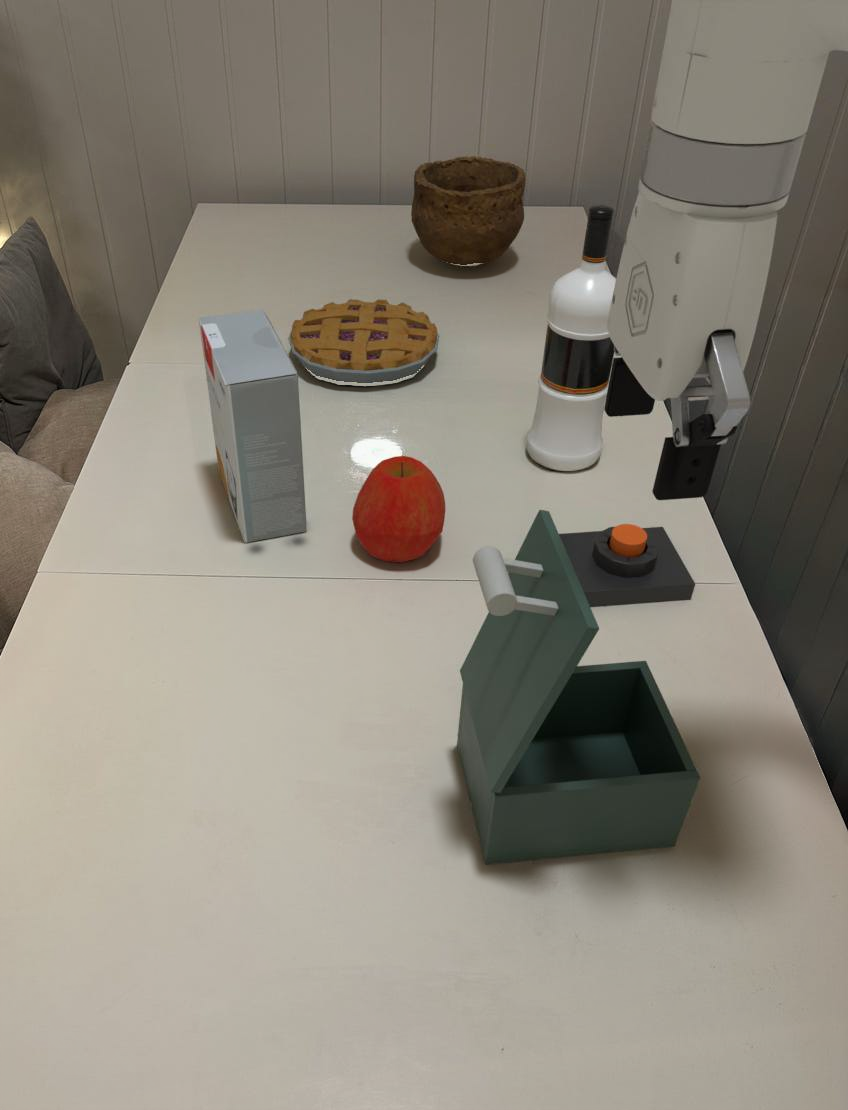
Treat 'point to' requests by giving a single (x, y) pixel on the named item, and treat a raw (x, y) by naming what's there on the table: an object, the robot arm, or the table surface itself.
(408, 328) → the pie
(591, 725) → the hinged box
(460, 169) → the bowl
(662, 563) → the control block
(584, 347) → the vodka
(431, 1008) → the table surface
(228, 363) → the hard drive box
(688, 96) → the robot arm
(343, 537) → the table surface
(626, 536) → the release button
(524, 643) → the box lid
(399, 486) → the apple
